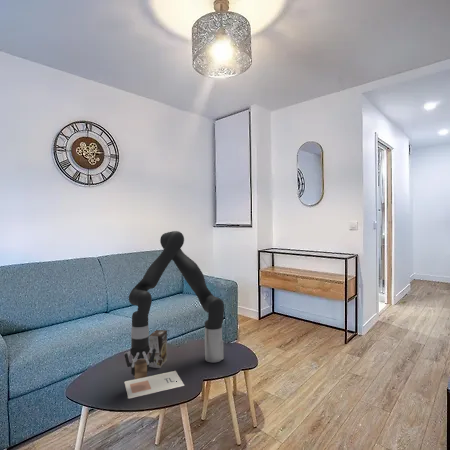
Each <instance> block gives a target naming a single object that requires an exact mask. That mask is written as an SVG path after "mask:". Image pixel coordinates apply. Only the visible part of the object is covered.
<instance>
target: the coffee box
mask: <svg viewBox="0 0 450 450" xmlns="http://www.w3.org/2000/svg"><path fill="white" fill-rule="evenodd" d="M149 347H150V348H153V347H155V349H156V352H155V357H154V361H153V362H151V363H150V364H149V368H155V369H161V368H162V366H163V365H164V364H166V362H167V361H168V330H165V329H155V330H154V331H153V332H152V333H151V334H149ZM150 356H151V352H150V351H149V352H148V360H149V359H150Z"/></svg>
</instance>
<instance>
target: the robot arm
mask: <svg viewBox="0 0 450 450" xmlns="http://www.w3.org/2000/svg"><path fill="white" fill-rule="evenodd" d="M159 241H160V245H161V247H162V249H163V250H162V251H161V253H160V254H159V256H157V257H156V259H155V260H154V261H153V262H152V263H151V264H150V266H149V267H148V268H147V269H146V271H145V274H144V275H143V277H142V278H141V280H139V282H138V283H137V284H136V285H134V287H133V288H132V289H131V291H130V292H129V296H128V302H129V303H130V304H131V305H133V306H136V307H137V310H136V311H134V312H132V314H131V331H130V335H131V336H130V340H131V341H130V342H131V343H130V345H131V347H130V350H129V351H124V352H123V354H124V355H123V356H124V358H125V364H126V366H127V368H130V373H131V375H132V376H133V377H134V375H135V367H134V366H135V363H136V361H137V360H140V359H145V361H146V362H147V374H148V373H149V372H150V367H149V364H150V363H151V362H153V361H154V357H155V352H156V349H155V347H153V348H150V347H149V335H150V328H149V315H150V311H151V306H152V302H153V301H152V300H153V299H152V295H151V293H150V292H149V290H151V289H155V288H156V286H157V285H158V283H159V281H160V280H161V278H162V276H163V274H164V272H165V270H166V269H167V267H168V265H169V264H170V263H171V262H172V261H173V263H174V264H175V266H176V267H177V270H179V272H180V274H181V275H182V277H183V279H184V280H185V282H186V283H187V285H188V286H189V288H190V289H191V290H192V291H193V292H194V294H195V295H196V298H197V299H198V301H199V303H200V305H201V307H202V309H203V310H204V311H205V312H206V313H208V315H207V320H205V321H204V360H205V361H206V362H208V363H211V364H212V363H214V364H215V363H219V362H221V361H222V360H224V358H225V357H224V340H223V322H224V317H225V316H224V312H225V311H224V310H225V309H224V308H225V306H224V301H223V300H222V299H221V298H219V297H216V296H214V295H213V293H212V292H211V291H210V290H209V288H208V287H207V283H206V279H205V276H204V274H203V272H202V270H201V269H200V267H199V266H198V264H197V263H196V262H195V261H194V260H192V259H191V258H190V257H189V256H188V255H187V254H185V253H184V251H183V250H182V248H183V245H184V243H185V237H184V234H183V233H182V232H181V231H179V230H172V231H167V232H164V233H163V234H162V235H160V240H159ZM149 351H150V352H151V356H150V359H149V357H148V355H149ZM130 355H131V356H132V359H131V362H130V359H129V358H130Z"/></svg>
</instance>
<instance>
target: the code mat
mask: <svg viewBox="0 0 450 450" xmlns="http://www.w3.org/2000/svg"><path fill="white" fill-rule="evenodd" d="M176 381H177V382H176ZM124 386H125V390H126V393H127V399H133V398H137V397H142V396H147V395H151V394H155V393H158V392H159V393H160V392H163V391H167V390H171V389H176V388H181V387H184V386H185V384H184V382H183V381H182V378H181V377H180V376H179V374H178V372H177V370H174V371H168V372H163V373H159V374H154V375H149V376H148V375H147V377H144V378H139V379H135V378H134V379H129V380H126V381H124Z"/></svg>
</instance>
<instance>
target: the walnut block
mask: <svg viewBox="0 0 450 450" xmlns="http://www.w3.org/2000/svg"><path fill="white" fill-rule="evenodd" d="M134 367H135V375H134V376H133V377H134V379H139V378H144V377H148V373H147V362H146V361H145V359H144V358H140V359H137V361H136V363H135V366H134Z"/></svg>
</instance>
